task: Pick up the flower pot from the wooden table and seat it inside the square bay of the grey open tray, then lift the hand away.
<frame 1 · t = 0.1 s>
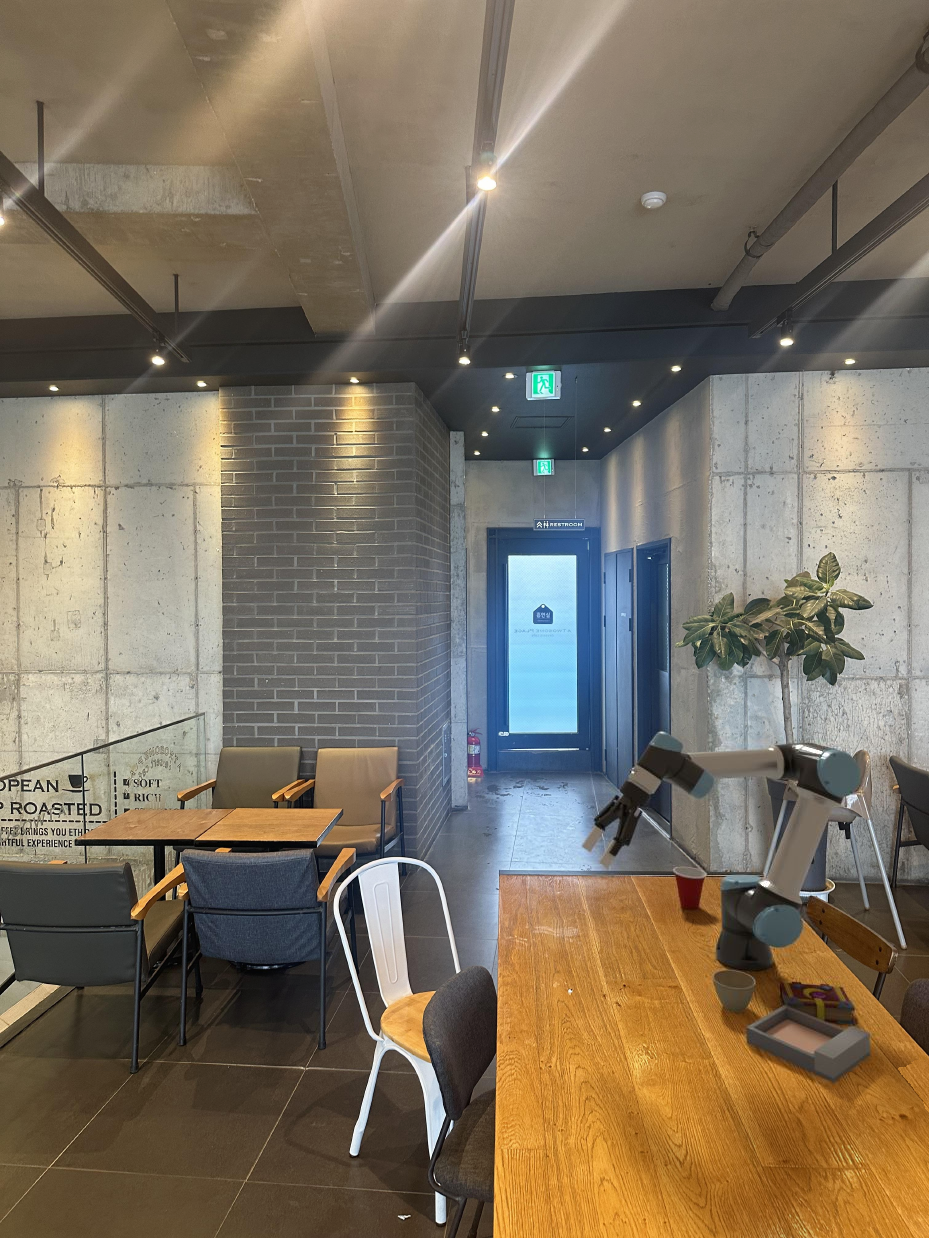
hand: (594, 857, 200), 36 cm above the table, tool tilted 35°, fingers open, 13 cm apart
decorative book: (818, 1013, 191), on the table
grey open tray: (798, 1045, 176), on the table
flower pot: (734, 1008, 194), on the table
plastic cup: (690, 907, 261), on the table
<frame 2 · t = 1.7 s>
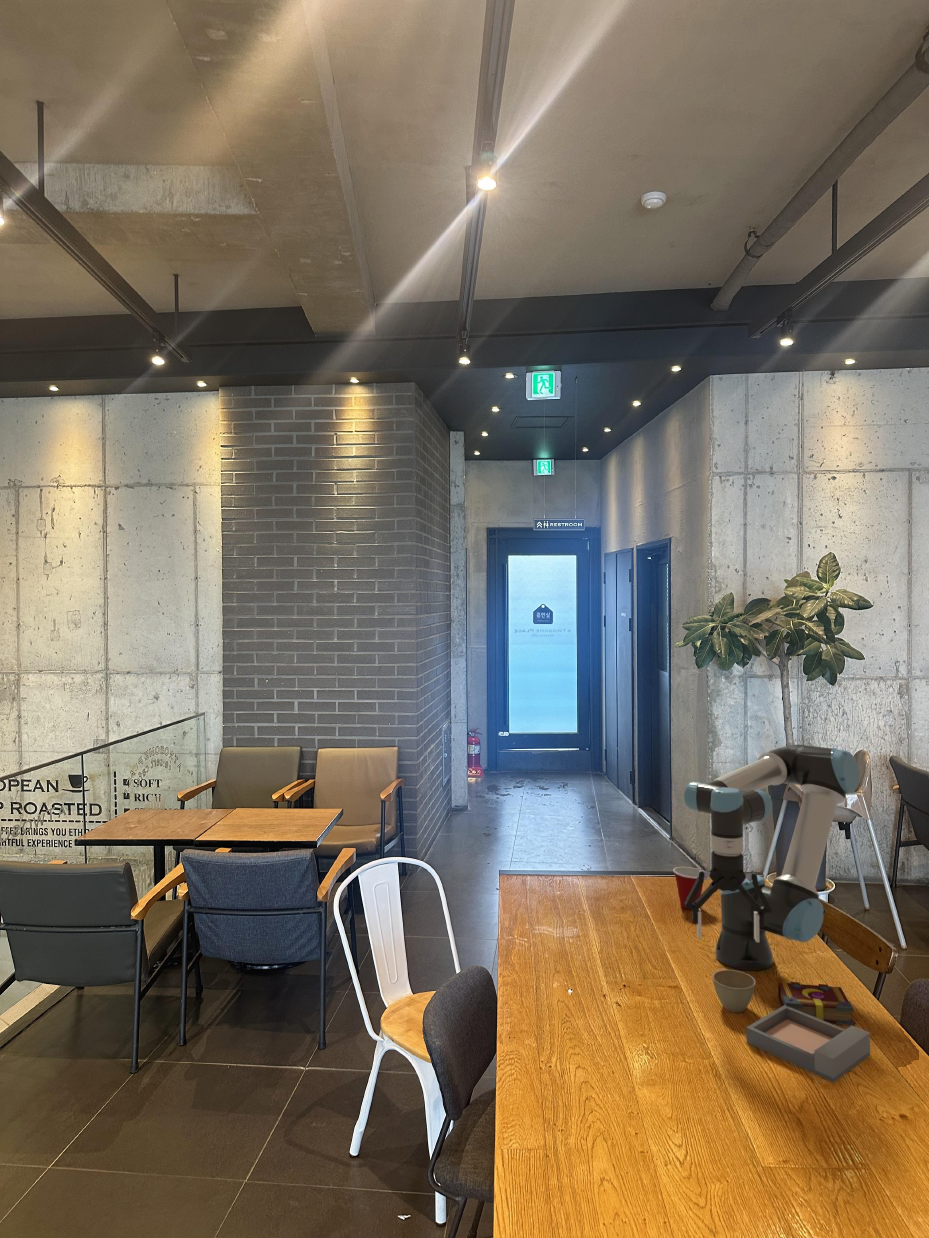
hand: (727, 938, 194), 17 cm above the table, tool pointing down, fingers open, 13 cm apart
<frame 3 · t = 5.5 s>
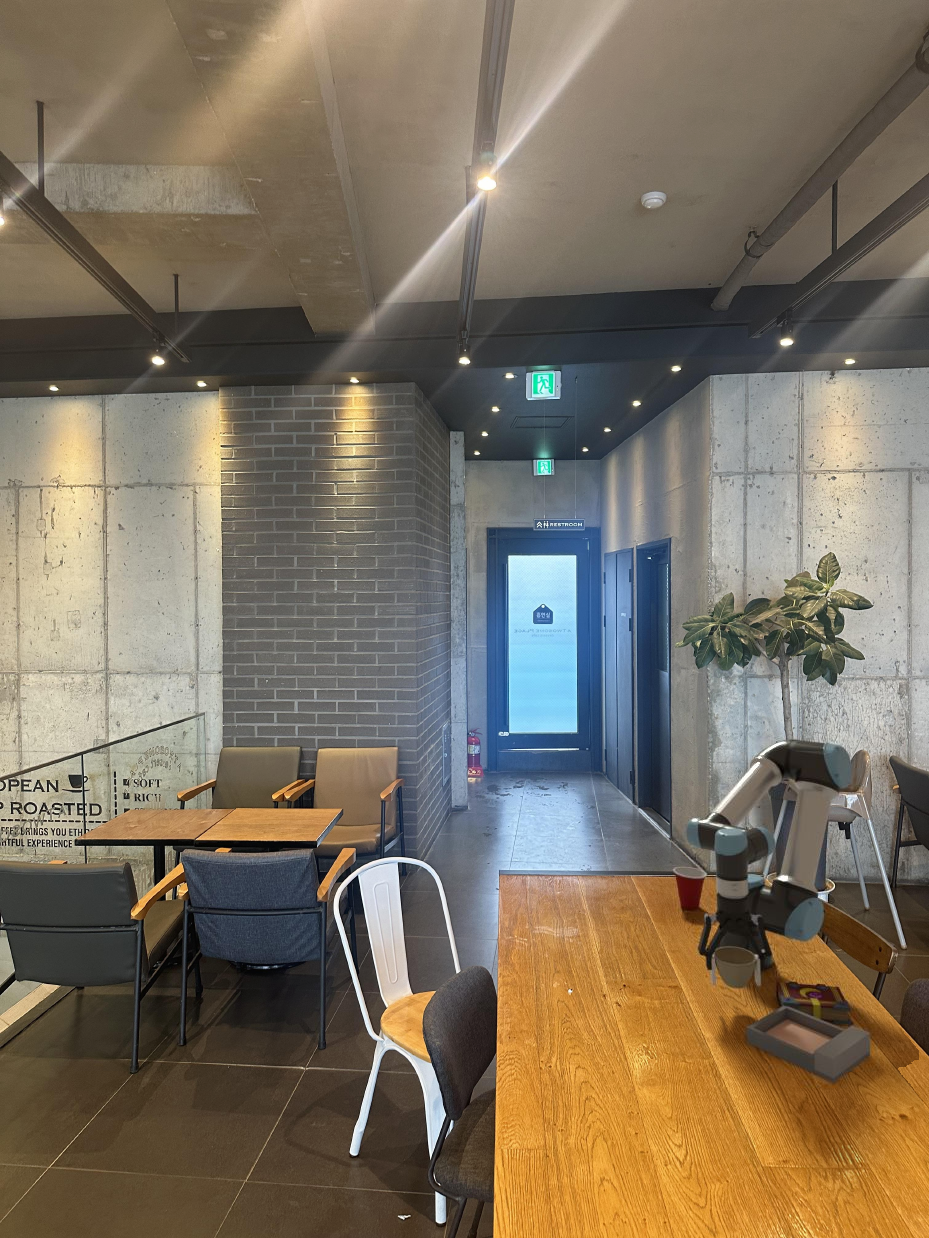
hand: (735, 982, 194), 6 cm above the table, tool pointing down, fingers closed on flower pot, 10 cm apart
flower pot: (735, 984, 194), point 5 cm above the table, touching gripper
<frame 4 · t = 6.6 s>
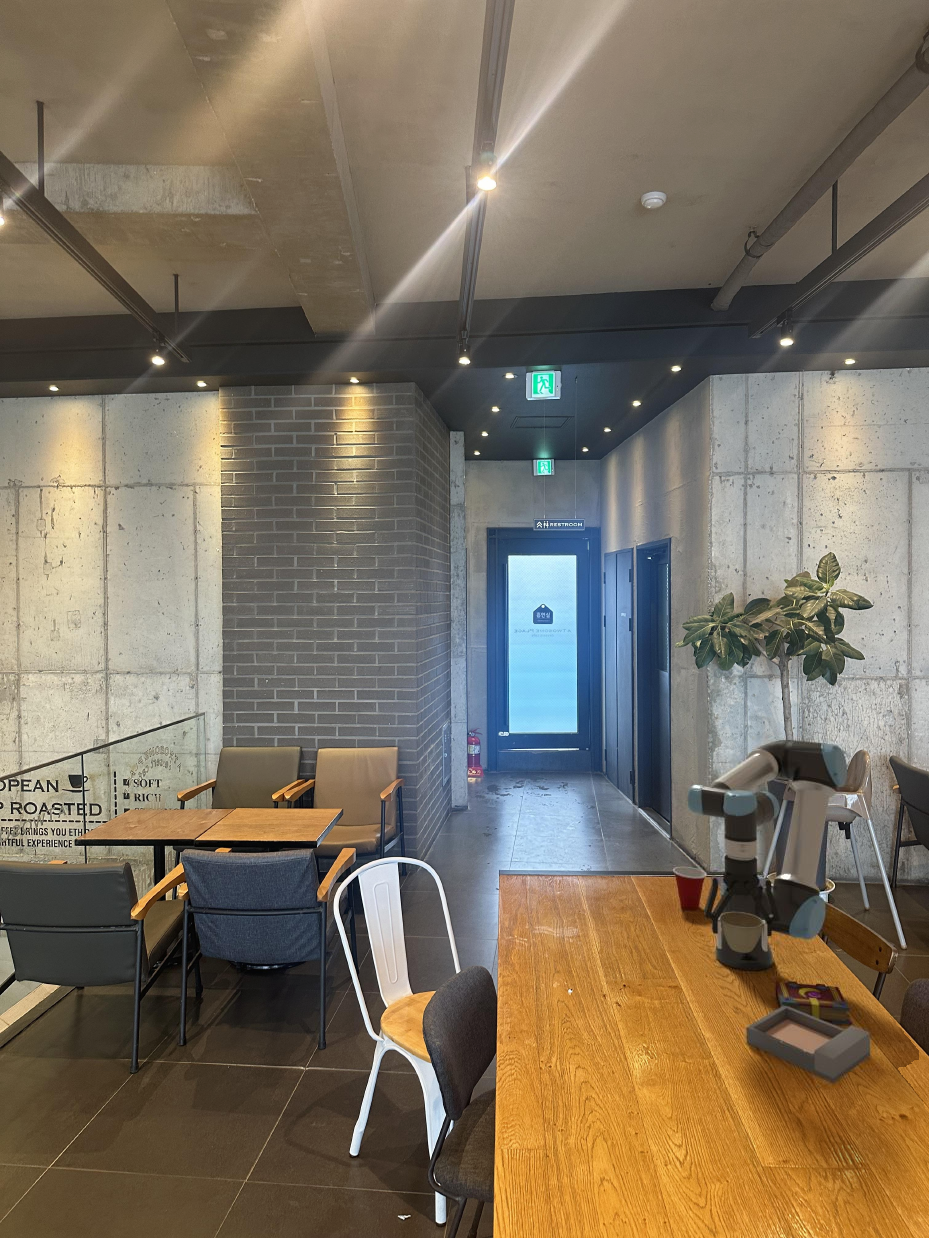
hand: (741, 947, 191), 16 cm above the table, tool pointing down, fingers closed on flower pot, 10 cm apart
flower pot: (741, 949, 191), point 16 cm above the table, touching gripper
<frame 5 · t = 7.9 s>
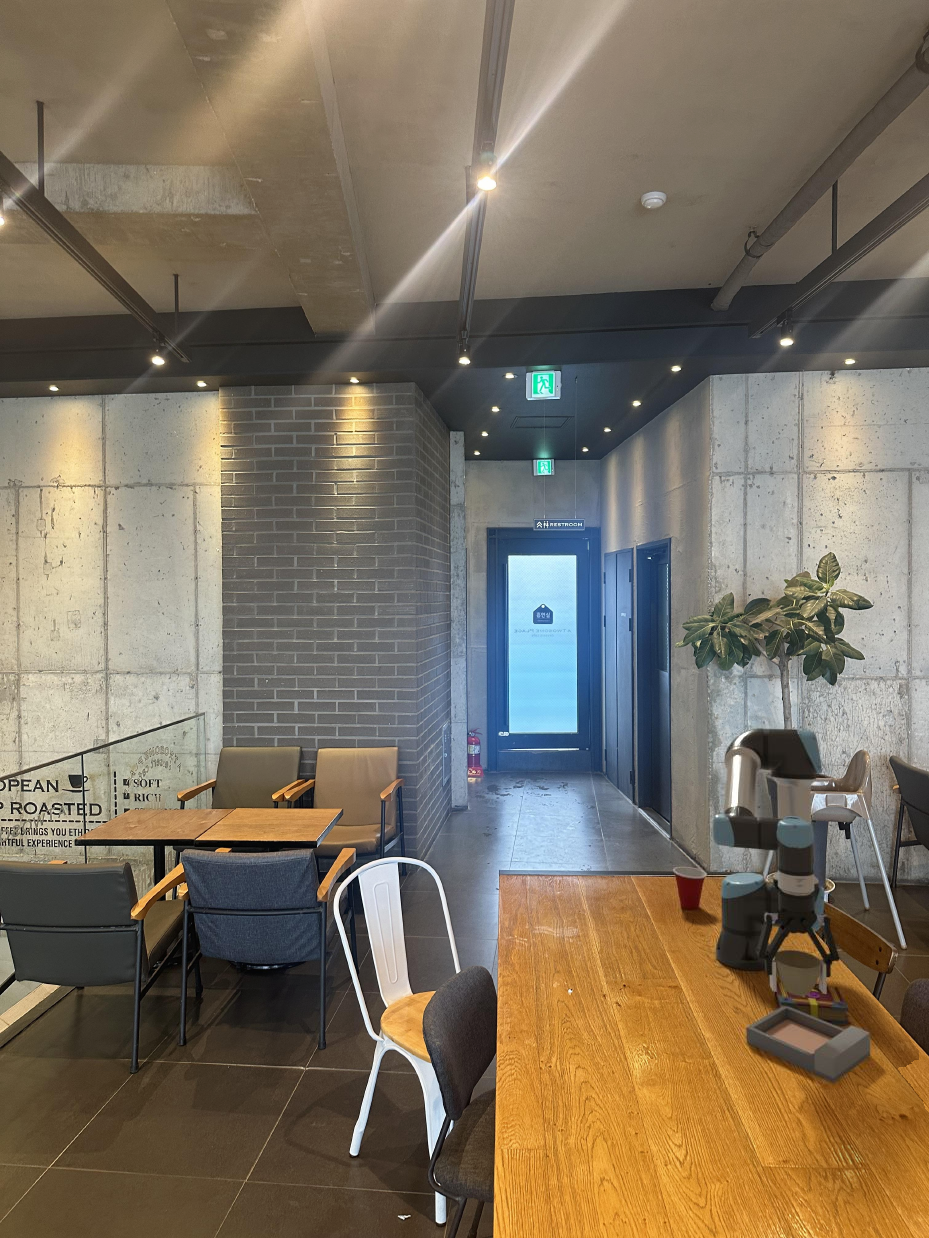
hand: (797, 989, 176), 13 cm above the table, tool pointing down, fingers closed on flower pot, 10 cm apart
flower pot: (797, 991, 176), point 12 cm above the table, touching gripper
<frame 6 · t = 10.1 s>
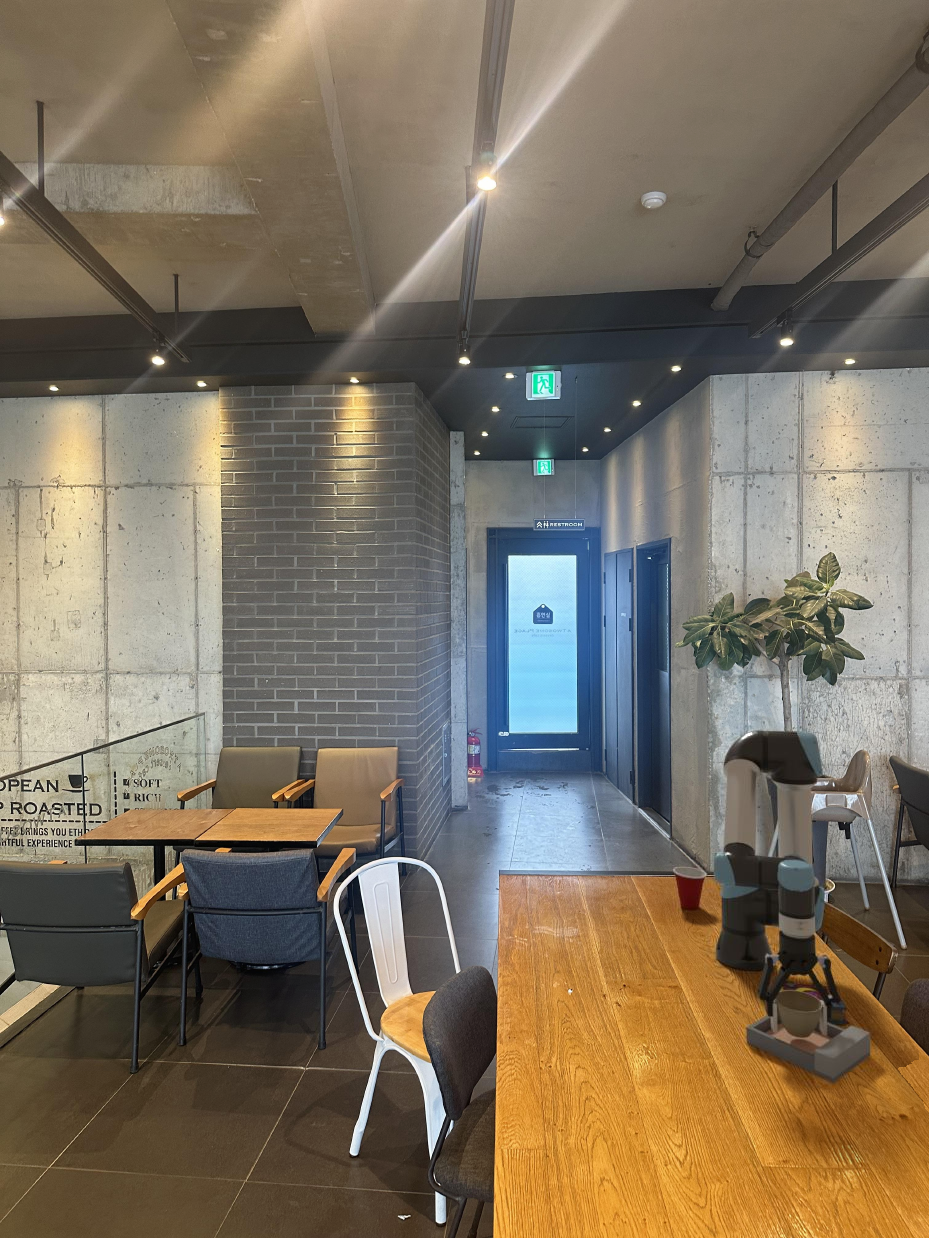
hand: (798, 1031, 177), 3 cm above the table, tool pointing down, fingers closed on flower pot, 10 cm apart
flower pot: (798, 1032, 177), point 3 cm above the table, touching gripper
when the fingers open (3 cm above the table, at t = 10.3 s): flower pot drops 2 cm, resting on grey open tray.
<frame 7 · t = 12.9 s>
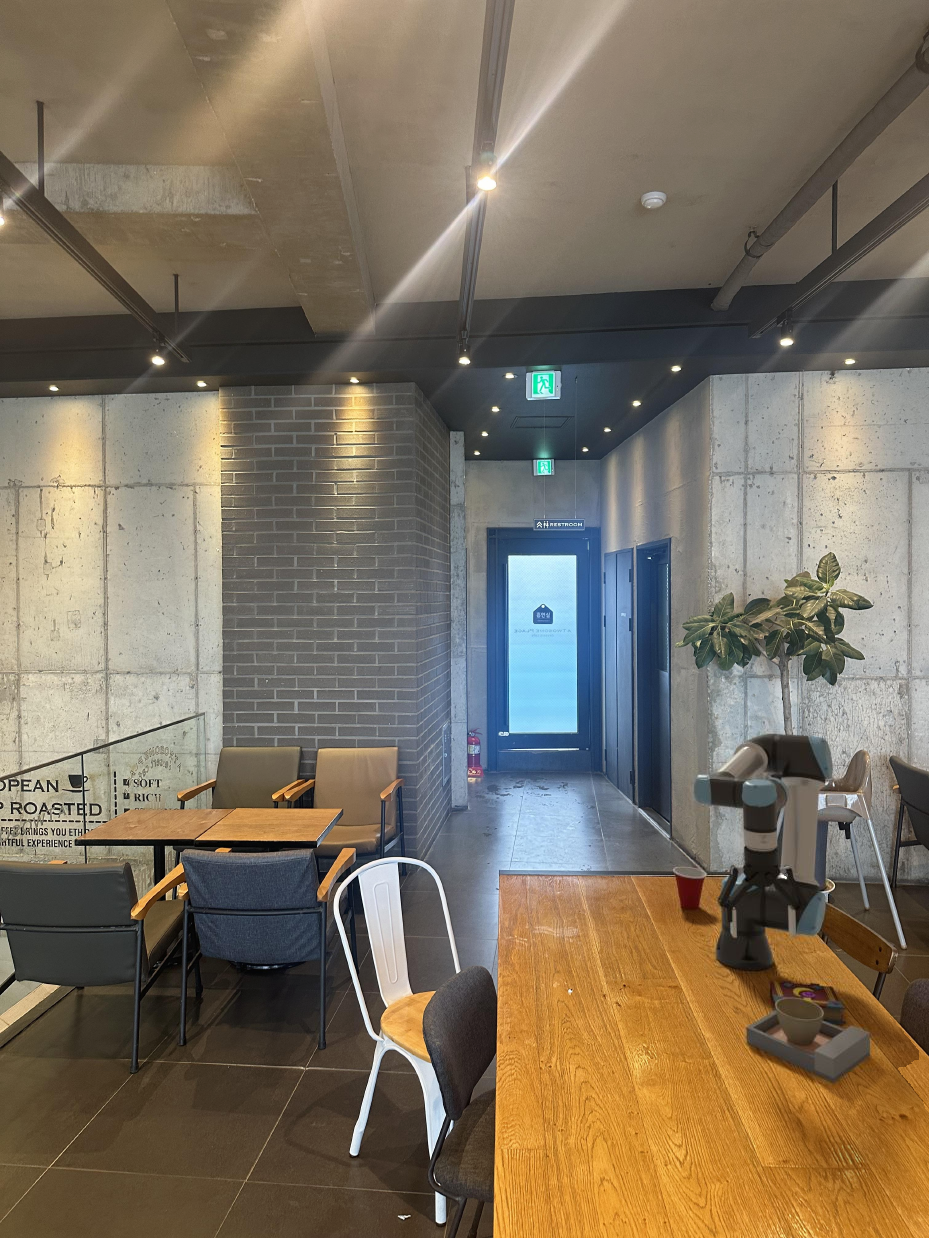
hand: (762, 935, 187), 21 cm above the table, tool pointing down, fingers open, 13 cm apart
flower pot: (799, 1040, 177), point 1 cm above the table, touching grey open tray
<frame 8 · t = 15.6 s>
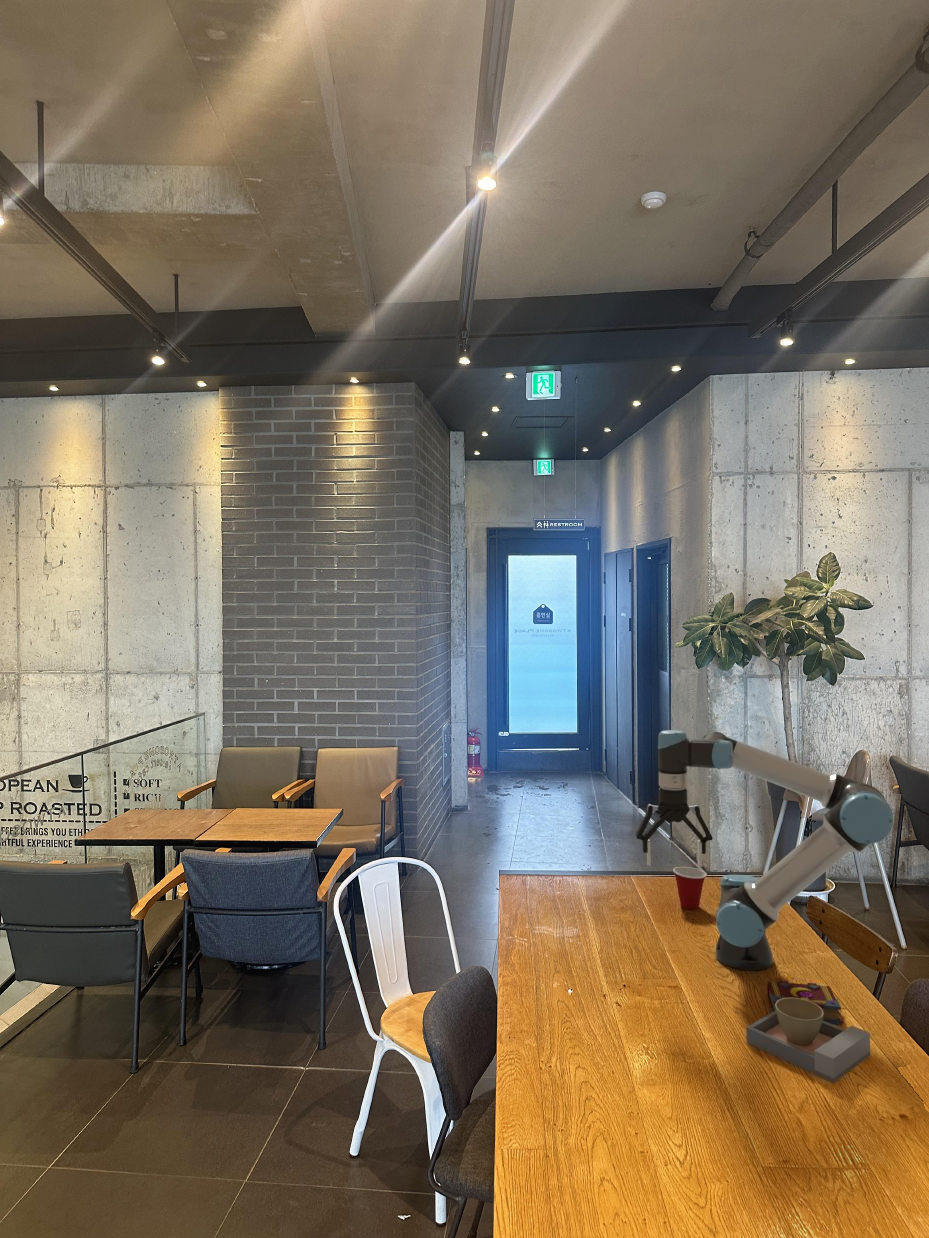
hand: (674, 865, 215), 29 cm above the table, tool pointing down, fingers open, 13 cm apart
at the end: flower pot 0.2 cm off-centre on the grey open tray, point 0.9 cm above the grey open tray's base; flower pot tilted 0°; the gripper is holding nothing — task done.
